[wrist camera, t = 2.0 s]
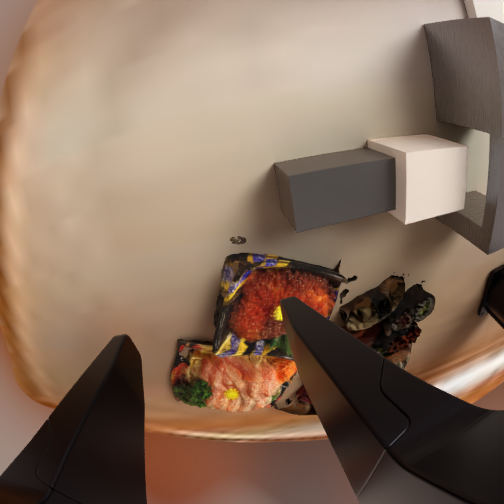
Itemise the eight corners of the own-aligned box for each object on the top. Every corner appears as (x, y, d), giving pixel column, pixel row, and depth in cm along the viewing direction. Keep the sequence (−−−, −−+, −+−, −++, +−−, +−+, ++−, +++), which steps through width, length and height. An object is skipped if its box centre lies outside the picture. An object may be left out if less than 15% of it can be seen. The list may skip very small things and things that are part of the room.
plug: (436, 186, 19) (473, 206, 15) (283, 219, 18) (303, 250, 14) (436, 133, 17) (477, 145, 13) (272, 154, 16) (293, 170, 12)
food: (445, 275, 24) (467, 297, 21) (353, 401, 32) (363, 424, 28) (205, 215, 18) (206, 243, 14) (164, 396, 26) (163, 427, 22)
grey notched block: (473, 207, 20) (523, 238, 15) (434, 217, 20) (487, 254, 14) (468, 35, 13) (528, 36, 8) (424, 24, 13) (489, 16, 7)
